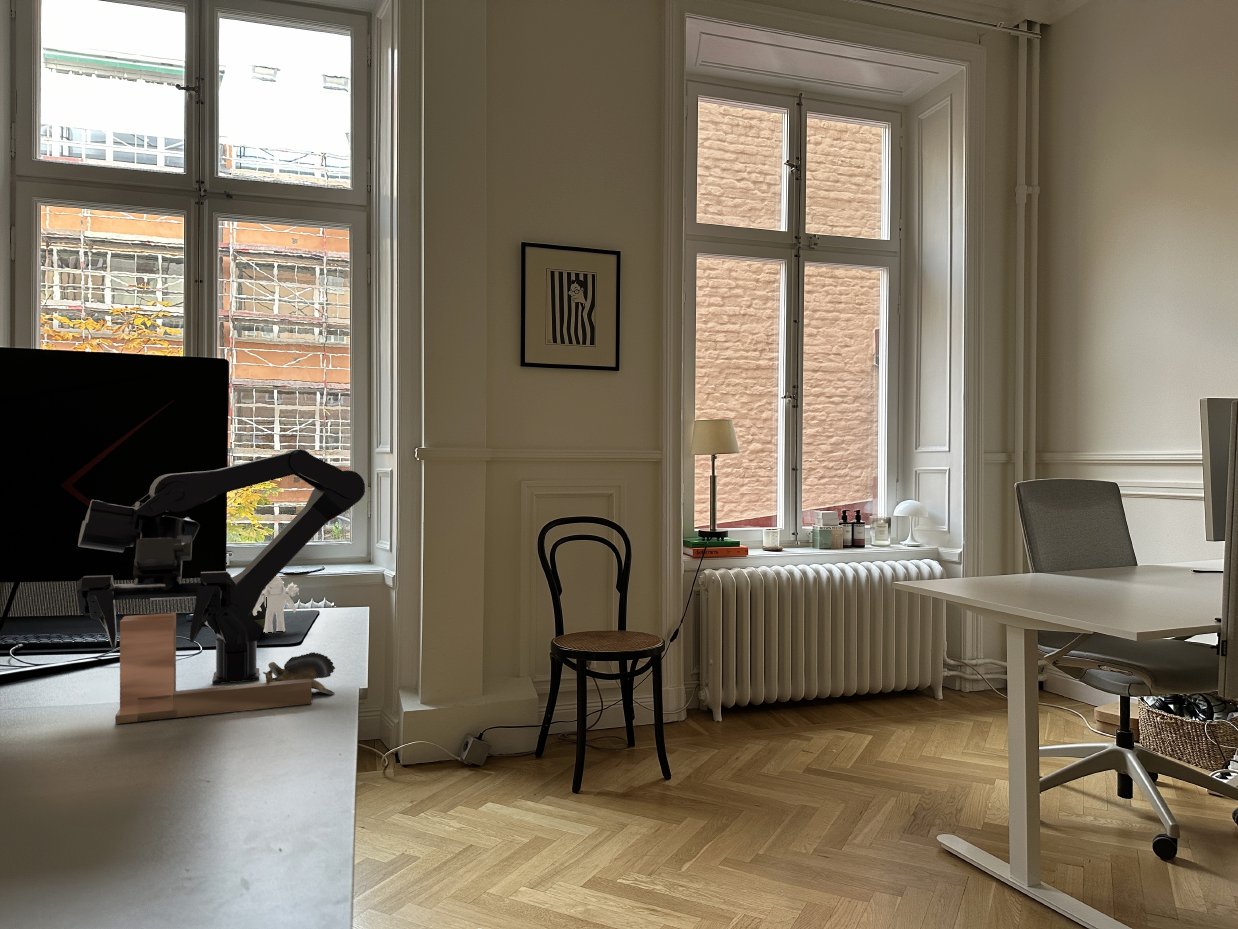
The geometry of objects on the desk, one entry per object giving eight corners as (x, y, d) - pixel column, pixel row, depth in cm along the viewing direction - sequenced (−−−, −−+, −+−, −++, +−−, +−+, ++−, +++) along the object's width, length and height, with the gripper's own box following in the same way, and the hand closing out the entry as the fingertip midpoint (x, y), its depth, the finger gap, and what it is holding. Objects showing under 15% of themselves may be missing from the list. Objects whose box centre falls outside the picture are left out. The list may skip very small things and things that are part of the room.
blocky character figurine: (250, 635, 164) (250, 573, 164) (249, 631, 168) (250, 571, 168) (299, 631, 168) (299, 571, 168) (298, 627, 172) (298, 569, 172)
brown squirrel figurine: (271, 702, 113) (339, 681, 118) (259, 653, 116) (326, 635, 120) (272, 719, 119) (336, 699, 123) (260, 673, 122) (324, 655, 126)
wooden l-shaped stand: (127, 703, 116) (127, 609, 116) (308, 686, 125) (308, 598, 125) (115, 723, 107) (115, 621, 107) (311, 703, 116) (311, 609, 116)
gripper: (80, 516, 114) (63, 611, 104) (231, 515, 122) (230, 603, 111) (88, 568, 121) (73, 661, 111) (231, 564, 129) (229, 650, 118)
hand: (153, 643), depth 113 cm, fingers open, 9 cm apart
